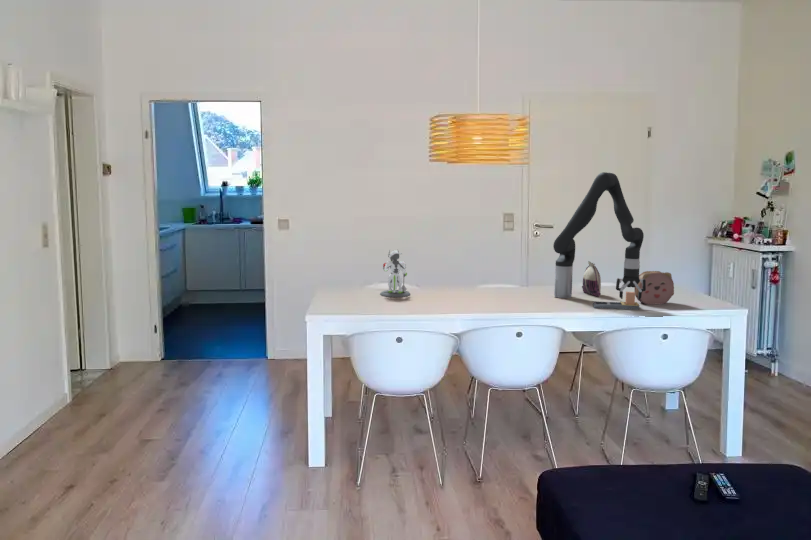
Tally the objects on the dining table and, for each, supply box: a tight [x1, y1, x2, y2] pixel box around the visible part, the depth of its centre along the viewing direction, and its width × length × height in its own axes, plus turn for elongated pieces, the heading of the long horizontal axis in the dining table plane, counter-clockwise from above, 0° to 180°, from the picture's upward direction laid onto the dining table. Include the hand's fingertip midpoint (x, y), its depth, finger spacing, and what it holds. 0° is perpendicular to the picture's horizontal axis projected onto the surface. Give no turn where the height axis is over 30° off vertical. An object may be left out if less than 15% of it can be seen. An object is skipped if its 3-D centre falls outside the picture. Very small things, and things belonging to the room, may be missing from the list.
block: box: [624, 291, 636, 305], centre depth 370 cm, size 4×4×8 cm
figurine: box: [379, 249, 411, 298], centre depth 404 cm, size 17×17×25 cm
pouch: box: [581, 260, 602, 298], centre depth 407 cm, size 25×8×19 cm, turn 15°
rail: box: [592, 300, 640, 310], centre depth 371 cm, size 22×8×2 cm, turn 81°
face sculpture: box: [634, 270, 675, 305], centre depth 383 cm, size 20×7×17 cm, turn 101°
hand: (630, 298), depth 370 cm, fingers open, 8 cm apart
